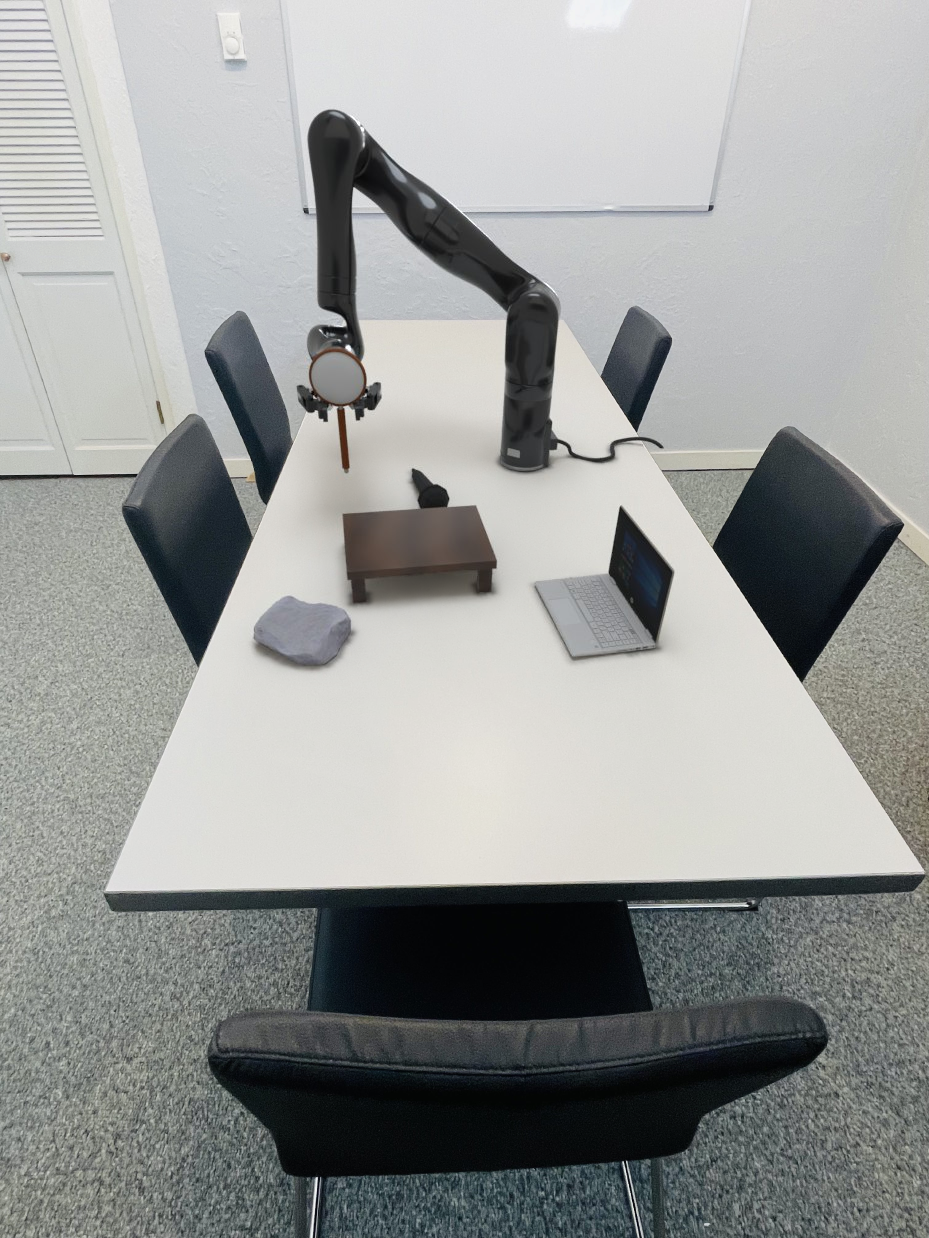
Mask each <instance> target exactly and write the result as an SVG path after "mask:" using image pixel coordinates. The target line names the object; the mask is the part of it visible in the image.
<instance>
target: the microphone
mask: <svg viewBox="0 0 929 1238" xmlns="http://www.w3.org/2000/svg"><path fill="white" fill-rule="evenodd" d="M411 480H412V481H413V484H414V485H415V488H416V490H417V493H418V497H417V504H418V506H419V509H424V508H440V507H449V503H450V496H449V493H448V491H447V488H445V487H443V486H441V485H440V484H438V483H433V482H432V481H431V480H430V479H429V478H428V477H427V475H425V473H423V472H422V471H421V470H419V469H416V468H414V467H412V468H411Z"/></svg>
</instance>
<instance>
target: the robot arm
mask: <svg viewBox="0 0 929 1238" xmlns="http://www.w3.org/2000/svg"><path fill="white" fill-rule="evenodd" d="M306 136H307V137H306V141H307V150H308V158H309V165H310V171H311V179H312V183H313V184H312V185H313V195H314V204H315V219H316V263H317V264H316V302H317V305H318V307H319V308H320V309H322V310H323V311H327V312H329V313H332V314H335V315H338V316H340V317H341V318H342V320H344V322H345V325H338V324H337V325H336V324H335V325H334V324H323V323H321V324H316V325H314V326H312V327H311V328H310V329H309V331H308V333H307V337H306V347H307V353H308V356H309V358H310V360H311V362H312V361H313V359H314V358H315V357H316V356H317V355H318V354H319V353H320V352H322V351H324V350H327V349H331V348H338V349H343V350H346V351H348V352H350V353H352V354H353V355H355V356H356V357H357V358H358V359H359V360H360V362H361V363H362V361H363V360H364V357H365V352H366V351H365V350H366V348H365V341H364V338H363V333H362V329H361V325H360V320H359V316H358V305H357V287H358V286H357V285H358V282H357V280H358V279H357V277H358V263H357V249H356V243H355V242H356V241H355V235H354V224H353V197H354V189H355V190H357V191H358V192H359V193H361V194H362V195H364V196H365V197H366V198H368V199H369V200H370V201H371V202H373V203H374V204H375V205H376V206H377V207H378V208H380V210H381V211H382V212H383V213H384V214H385V216H387V218H388V219H389V220H390V221H391V223H392V224H393V226H395V227H396V228H397V230H398V231H399V232H400V233H401V234H402V235H403V237H405V239H406V240H407V241H408V242H409V243H410V244H411V245H412V246H413V247H415V249H417V250H418V251H419V252H420V253H421V254H423V255H424V256H425V257H426V258H427V259H428V260H430V261H431V262H432V263H433V264H434V265H435V266H436V267H438V268H440V269H441V270H443V271H444V272H445V273H447V274H449V275H451V276H453V277H455V278H456V279H458V280H461V281H463V282H465V283H467V284H469V285H472V286H473V287H475V288H477V289H478V290H481V291H482V292H483V293H484V294H485V295H487V296H489V297H490V299H492V300H493V302H495V303H496V304H497V305H498V306H499V307H500V308H501V309H502V310H503V311H504V312H505V313H506V321H505V335H504V337H505V338H504V339H505V340H504V386H503V387H504V388H503V402H502V403H503V404H502V420H501V421H502V423H501V438H500V450H499V451H500V455H499V462H500V464H501V465H502V466H503V467H505V468H506V469H510V470H512V471H518V472H531V471H532V472H533V471H536V470H537V471H538V470H540V469H542V468H547V467H549V461H550V452H551V451H557V450H558V444H559V445H563V447H566V449H567V452H568V455H569V456H571V457H573V458H575V459H578V460H582V461H586V462H587V461H588V462H593V463H601V462H607V461H611V460H613V459H614V458H615V455H616V450H615V446H616V445H618V444H621V443H628V442H635V441H636V442H637V441H640V442H648V443H651V444H653V445H655V446H656V447H657V448H658V449H665V447H664V446H663V444H662V443H660V442H659V441H658V440H656V439H653V438H650V437H645V436H630V437H623V438H619V439H615V440H613V441H611V443H610V445H609V448H610V455H608V456H603V457H588V456H582V455H580V454H577V453H575V452H574V451H573V450H572V446H571V444H570V443H568V442H567V441H565V440H562V439H560V438H558V436H557V435H556V433H555V432H554V431H553V420H552V419H551V409H552V408H551V407H552V397H553V396H552V395H553V388H554V387H553V386H554V377H555V370H556V365H555V364H556V352H557V351H556V350H557V342H558V341H557V340H558V332H559V321H560V318H561V314H562V306H561V300H560V298H559V296H558V294H557V293H556V291H555V290H554V289H553V288H552V287H551V286H550V285H549V284H547V283H546V282H544V281H543V280H541V279H540V278H538V277H537V276H536V275H534V274H532V273H531V272H530V271H528V270H526V268H523V267H522V266H521V265H520V264H518V263H517V262H516V261H514V260H513V259H512V258H510V257H509V256H508V255H507V254H506V253H505V252H504V251H503V250H502V249H501V248H500V247H499V246H498V245H497V244H496V243H495V242H494V241H493V240H492V239H491V238H490V236H488V235H487V234H486V233H484V231H483V230H481V229H480V227H478V225H476V223H474V222H473V221H472V220H471V219H470V218H469V217H468V216H467V215H466V214H464V213H463V212H462V211H461V210H460V209H459V208H457V206H455V205H454V204H453V203H452V202H451V201H450V200H448V199H447V198H446V197H445V196H443V195H442V194H440V193H439V192H438V191H437V190H435V189H434V188H433V187H432V186H430V185H429V184H427V183H426V182H424V181H423V180H421V179H420V178H418V176H415V175H414V174H413V173H411V172H409V171H408V170H406V169H405V168H404V167H403V166H402V165H400V164H399V163H398V162H397V161H396V160H395V159H394V158H393V157H392V156H391V155H390V154H389V153H388V152H387V151H386V150H385V149H384V148H383V147H382V146H381V144H379V143H378V142H377V140H376V139H375V138H374V137H373V135H371V134H370V133H369V131H368V130H367V129H366V128H365V127H364V125H362V123H360V121H359V120H358V119H357V118H355V117H353V116H352V115H351V114H348V113H347V112H344V111H342V110H339V109H335V108H334V109H333V108H332V109H331V108H330V109H325V110H322V111H320V112H319V113H317V114H316V115H315V116H314V118H313V119H312V121H311V122H310V124H309V127H308V130H307V135H306ZM296 392H297V401H298V403H299V404H300V406H301V407H302V408H303V409H304V410H305V411H306V412H307V413H308V414H313V413H315V412H316V411H317V417H318V419H319V420H322V422H323V423H329V412H330V411H331V410H333V408H334V407H336V408H338V406H334V405H331V404H328V403H326V402H324V401H323V400H322V399H320V398H319V397H318V396H317V395H316V393H315V392H314V390H313V389H312V387H311V388H309V386H308V387H307V386H305V385H303V384H298V385H296ZM382 396H383V395H382V382H379V381H375V382H373V383H372V384H369V385H366V389H365V391H364V393H363V395H362V396H361V398H360V399H359V400H358V401H356V402H354V403H353V404H351V405H348V406H347V407H349V408H350V409H351V410H352V411H353V410H354V416H355V421H356V422H357V421H358V422H359V421H361V418H364V417H365V409H367V411H375V410H376V408H377V407H378V405H379V403H380V402H381V400H382ZM343 408H345V406H343Z"/></svg>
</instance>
